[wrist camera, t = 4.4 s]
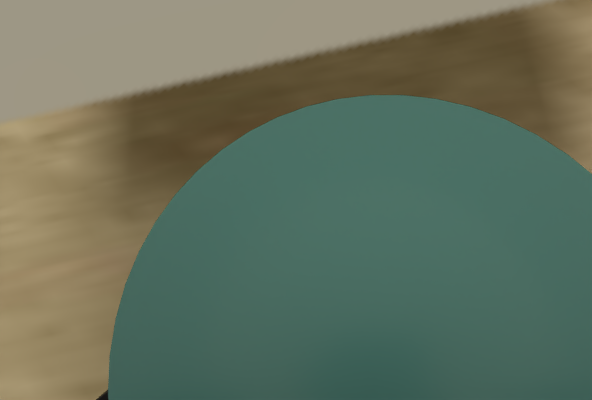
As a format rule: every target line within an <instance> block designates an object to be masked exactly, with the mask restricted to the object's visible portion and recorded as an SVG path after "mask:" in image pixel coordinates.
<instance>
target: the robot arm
mask: <svg viewBox="0 0 592 400" xmlns="http://www.w3.org/2000/svg"><path fill="white" fill-rule="evenodd" d="M96 400H108V390H107V391H106V392H105V393H103V394H102V395H101V396H100V397H99V398H98V399H96Z"/></svg>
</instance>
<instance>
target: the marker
mask: <svg viewBox="0 0 592 400" xmlns="http://www.w3.org/2000/svg"><path fill="white" fill-rule="evenodd" d="M108 400H592V174H591V173H590V172H589V171H587V170H586V169H585V168H584V167H582V166H581V165H580V164H579V163H577V162H576V161H575V160H574V159H572V158H571V157H570V156H569V155H567V154H566V153H564V152H563V151H561V150H560V149H558V148H556V147H555V146H553V145H552V144H550V143H549V142H547V141H545V140H544V139H542V138H541V137H539V136H538V135H536V134H534V133H532V132H530V131H528V130H526V129H524V128H522V127H520V126H518V125H516V124H514V123H512V122H509V121H507V120H505V119H503V118H501V117H498V116H495V115H492V114H489V113H486V112H484V111H481V110H478V109H475V108H472V107H469V106H465V105H461V104H456V103H452V102H448V101H443V100H439V99H433V98H424V97H415V96H407V95H367V96H359V97H350V98H342V99H336V100H332V101H327V102H323V103H319V104H315V105H311V106H307V107H304V108H301V109H298V110H296V111H293V112H290V113H288V114H285V115H282V116H280V117H277V118H275V119H273V120H271V121H269V122H267V123H265V124H263V125H261V126H259V127H257V128H255V129H253V130H251V131H249V132H248V133H246V134H245V135H243V136H242V137H240V138H239V139H237V140H236V141H234V142H233V143H231V144H230V145H228V146H227V147H225V148H224V149H222V150H221V151H220V152H219V153H217V154H216V155H215V156H214V157H213V158H212V159H210V160H209V161H208V162H207V163H206V164H205V165H203V166H202V167H201V168H200V169H199V170H198V171H197V172H196V173H195V174H194V175H193V176H192V177H191V178H190V179H189V180H188V181H187V183H186V184H185V185H184V186H183V187H182V188H181V189H180V190H179V191H178V192H177V193H176V194H175V196H174V197H173V198H172V200H171V201H170V203H169V204H168V205H167V207H166V208H165V210H164V211H163V212H162V214H161V215H160V216H159V218H158V219H157V221H156V222H155V224H154V226H153V227H152V229H151V231H150V233H149V235H148V236H147V238H146V240H145V242H144V244H143V245H142V247H141V249H140V251H139V253H138V255H137V258H136V260H135V262H134V265H133V267H132V270H131V272H130V275H129V277H128V279H127V282H126V284H125V288H124V291H123V295H122V298H121V302H120V305H119V309H118V312H117V316H116V320H115V326H114V333H113V339H112V345H111V351H110V362H109V383H108Z"/></svg>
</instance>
